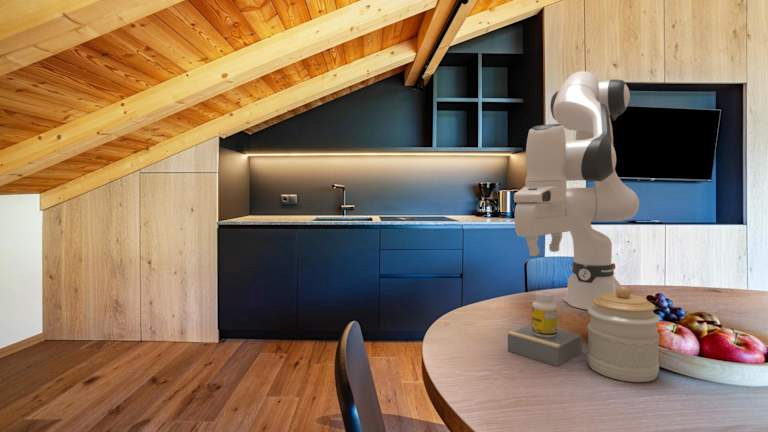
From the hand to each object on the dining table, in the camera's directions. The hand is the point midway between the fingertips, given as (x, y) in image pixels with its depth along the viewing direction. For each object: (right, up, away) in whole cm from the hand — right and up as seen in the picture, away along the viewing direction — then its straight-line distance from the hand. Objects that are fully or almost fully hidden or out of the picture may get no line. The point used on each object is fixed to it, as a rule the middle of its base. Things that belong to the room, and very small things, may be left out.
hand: (544, 253), depth 95 cm
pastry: (+18, -23, +9) cm, 30 cm away
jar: (+12, -24, -10) cm, 28 cm away
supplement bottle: (0, -19, 0) cm, 19 cm away
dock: (0, -23, 0) cm, 23 cm away
